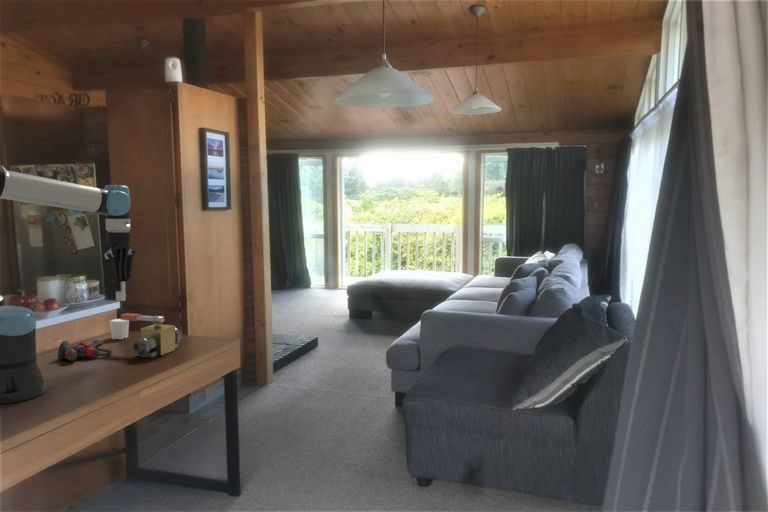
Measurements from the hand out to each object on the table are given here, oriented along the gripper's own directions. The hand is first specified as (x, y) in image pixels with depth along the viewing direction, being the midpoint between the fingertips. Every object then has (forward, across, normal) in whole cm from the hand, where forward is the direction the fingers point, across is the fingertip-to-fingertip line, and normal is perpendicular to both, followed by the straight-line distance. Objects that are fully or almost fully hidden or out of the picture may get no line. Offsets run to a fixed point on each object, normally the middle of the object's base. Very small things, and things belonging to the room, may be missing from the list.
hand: (120, 300), depth 189 cm
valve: (+20, -2, +11) cm, 23 cm away
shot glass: (+19, +20, +18) cm, 33 cm away
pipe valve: (+19, +6, -9) cm, 22 cm away
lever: (+8, +7, -3) cm, 11 cm away
